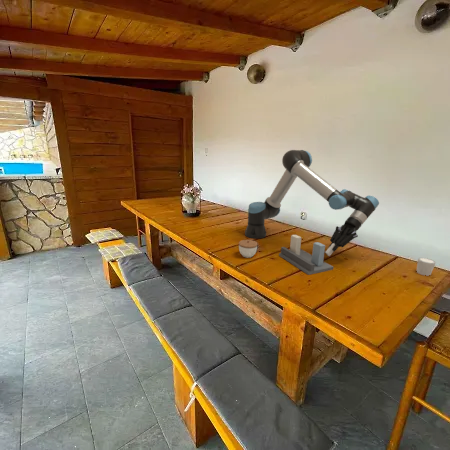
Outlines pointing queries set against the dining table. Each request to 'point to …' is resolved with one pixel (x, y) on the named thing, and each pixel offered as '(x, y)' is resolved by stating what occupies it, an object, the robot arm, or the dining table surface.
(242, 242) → the lidded jar
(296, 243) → the cream key
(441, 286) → the dining table surface
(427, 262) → the beige cylinder
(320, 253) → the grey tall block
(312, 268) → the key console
